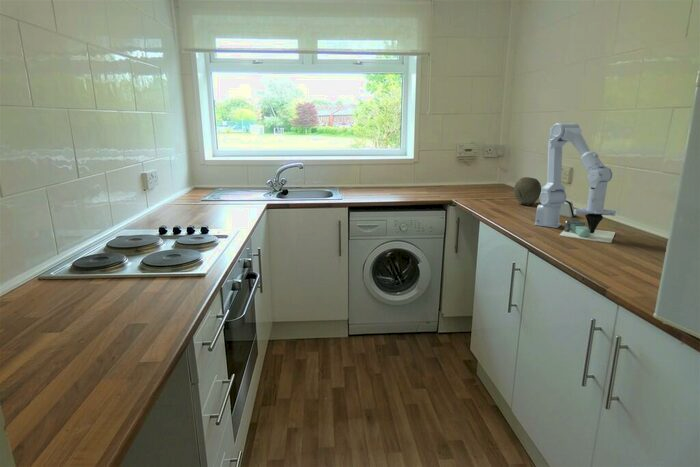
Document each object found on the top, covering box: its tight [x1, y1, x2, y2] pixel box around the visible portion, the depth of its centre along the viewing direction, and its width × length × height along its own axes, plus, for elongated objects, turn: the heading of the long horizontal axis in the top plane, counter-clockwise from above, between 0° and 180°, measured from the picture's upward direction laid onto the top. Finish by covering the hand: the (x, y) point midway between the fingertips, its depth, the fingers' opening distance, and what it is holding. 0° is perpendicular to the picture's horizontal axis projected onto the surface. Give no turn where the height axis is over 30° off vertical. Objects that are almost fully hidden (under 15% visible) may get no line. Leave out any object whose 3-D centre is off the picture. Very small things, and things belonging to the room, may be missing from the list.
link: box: [570, 224, 590, 237], centre depth 174 cm, size 17×5×2 cm, turn 170°
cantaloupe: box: [513, 176, 542, 206], centre depth 234 cm, size 14×14×15 cm
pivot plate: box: [559, 217, 616, 244], centre depth 172 cm, size 18×18×5 cm
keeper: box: [563, 220, 586, 232], centre depth 175 cm, size 7×2×4 cm, turn 67°
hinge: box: [540, 198, 578, 218], centre depth 210 cm, size 17×5×10 cm, turn 28°
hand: (591, 232), depth 168 cm, fingers closed
